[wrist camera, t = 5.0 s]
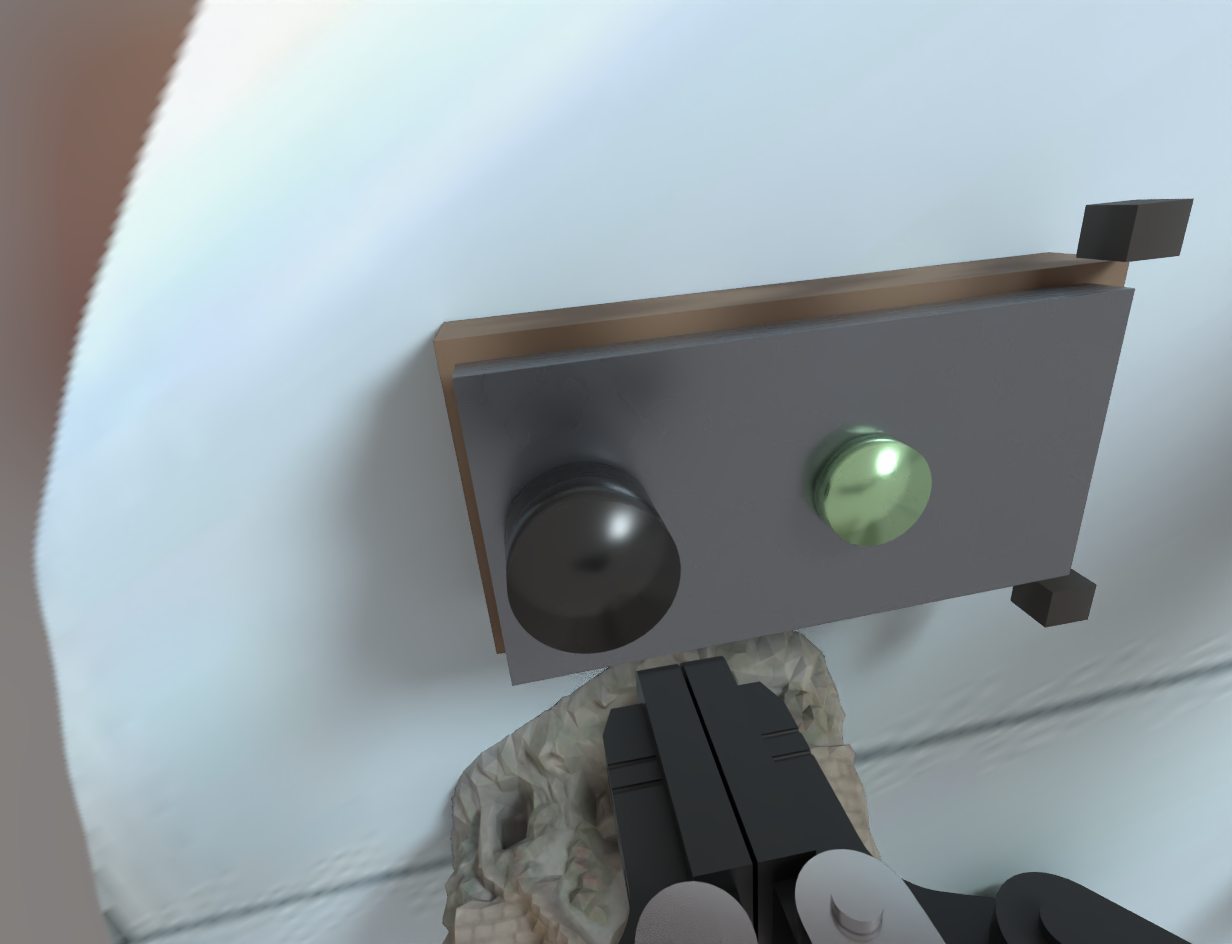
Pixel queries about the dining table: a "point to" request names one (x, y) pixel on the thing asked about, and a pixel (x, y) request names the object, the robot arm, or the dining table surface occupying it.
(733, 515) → the plate
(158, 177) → the dining table surface
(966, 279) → the brown boxy piece
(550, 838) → the miniature castle
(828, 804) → the robot arm
